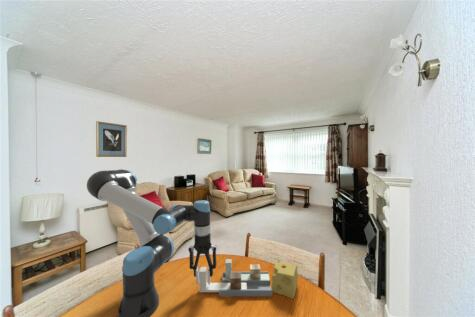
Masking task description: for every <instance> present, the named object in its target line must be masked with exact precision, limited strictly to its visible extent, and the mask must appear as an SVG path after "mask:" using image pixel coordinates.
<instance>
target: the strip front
mask: <svg viewBox="0 0 475 317" xmlns="http://www.w3.org/2000/svg"><path fill="white" fill-rule="evenodd" d="M198 284H199V290H198V292H199V293H219V290H220V289H230V283H221V282H210V285H208V266H201V267H200V268H199V283H198ZM241 289H247V283H241Z"/></svg>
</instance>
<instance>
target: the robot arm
mask: <svg viewBox="0 0 475 317" xmlns="http://www.w3.org/2000/svg"><path fill="white" fill-rule="evenodd" d="M137 182H138V178H137V176H136V174H135V173H134V172H132V170H129V169H121V168H120V169H118V170H117V169H113V170H100V171H96V172H94V173H93V174H92V175H90V177H89V178H88V179H87V182H86V189H87V191H88V193H89V194H90V195H91V196H92V197H93V198H95V199H97V200H99V201H100V202H106V201H107V202H108V203H110V204H112V205H114V206H117V207H119V208H120V209H122V211H123V213H124V215H125V216H126V218H127V220H128V221H129V224H130V225H131V227H132V229H133V231H134V233H135V235H136V236H137V238H138V240H139V242H140V243H139V247H138V248H135V249H132V250H131V251H129V252H128V253H127V254H126V255H125V257H124V258H123V261H122V266H121V271H122V297H121V300H120V303H119V306H118V308H117V317H150V316H152V315H153V314H154V313H155V312H156V311H157V309H158V307H159V305H160V296H159V293H158V291H157V288H156V285H155V273H156V272H157V271H158V270H159V269H160V268H162V266H163V265H165V263H167V262H168V261H170V258H171V257H172V255H173V254H174V250H175V245H174V241H173V240H172V238H171V237H169V236H167V235H166V234H168V233H170V232H171V231H173V230H174V229H175V228H177V227H178V226H180V225H181V224H183V223H185V222H193V225H194V226H193V227H194V228H193V229H194V232H193V233H194V244H193V245H190V246H189V247H188V248H187V250H188V252H189V269H190V270H193V277H194V278H195V285H196V286H197V285H198V284H199V271H200V268H199V267H198V264H199V262H200V261H199V260H200V257H201V255H205V258H206V259H205V260H206V261H207V265H208V266H207V267H208V268H207V283H208V285H210V283H212V282H211V281H212V277H213V274H214V270H215V269H217V268H216V267H217V266H218V265H217V248H218V246H217V245H212V241H211V208H210V201H208V200H196V201H194V202H193V204H191V205H190V204H174V205H172V206H170V208H169V209H166V208H164V207H162V206H160V205H158V204H157V203H154V202H153V201H150V200H148V199H146V198H144V197H142V196H141V195H138V194H137V192H136V191H137V188H138V187H137ZM194 250H195V251H196V256H195V257H194V253H195V252H194ZM210 250H211V251H212V258H211V254H210ZM194 258H195V261H194Z"/></svg>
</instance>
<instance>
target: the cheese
mask: <svg viewBox="0 0 475 317" xmlns="http://www.w3.org/2000/svg"><path fill="white" fill-rule="evenodd" d="M271 281H272V283H271V289H272V293H274V294H277V295H282V296H285V297H287V298H291V299H294V298H295V296H296V292H297V287H298V284H299V282H298V265H296V264H293V263H289V262H283V261H280V260H277V261H276V263H275V265H274V266H273V273H272V276H271Z"/></svg>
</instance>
